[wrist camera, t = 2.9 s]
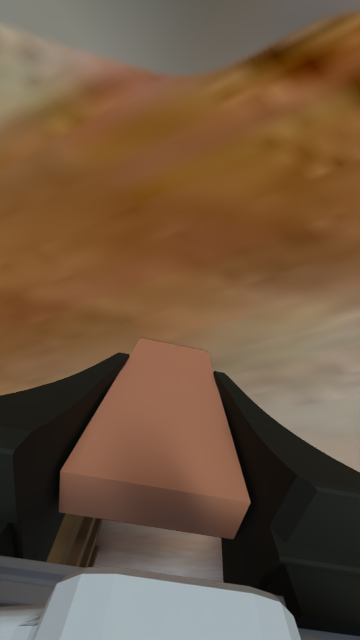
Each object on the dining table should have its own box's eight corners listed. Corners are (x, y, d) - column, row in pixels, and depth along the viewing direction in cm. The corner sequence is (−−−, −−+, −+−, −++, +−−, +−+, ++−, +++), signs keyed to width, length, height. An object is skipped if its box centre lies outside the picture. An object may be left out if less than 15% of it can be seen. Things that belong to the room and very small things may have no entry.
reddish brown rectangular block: (140, 338, 13) (60, 471, 5) (207, 351, 13) (250, 502, 5) (137, 357, 14) (58, 512, 5) (202, 370, 14) (233, 539, 5)
